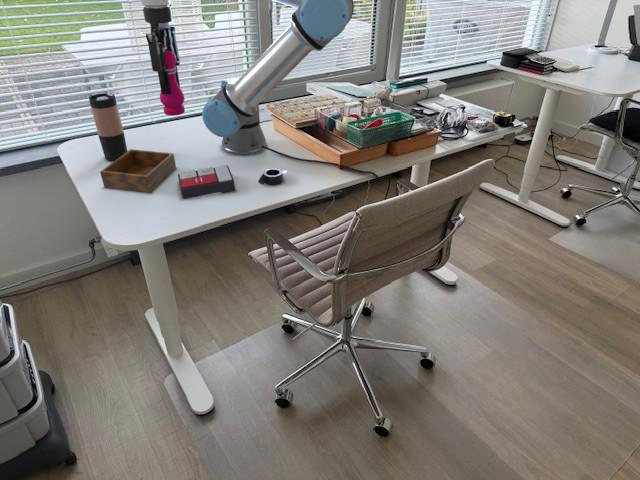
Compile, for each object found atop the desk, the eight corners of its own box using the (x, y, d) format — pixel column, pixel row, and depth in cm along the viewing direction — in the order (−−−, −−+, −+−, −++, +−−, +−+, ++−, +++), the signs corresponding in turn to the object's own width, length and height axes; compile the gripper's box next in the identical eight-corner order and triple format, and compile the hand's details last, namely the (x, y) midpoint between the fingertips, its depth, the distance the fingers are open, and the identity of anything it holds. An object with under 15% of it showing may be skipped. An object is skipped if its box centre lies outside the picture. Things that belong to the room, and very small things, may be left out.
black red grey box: (177, 171, 136) (227, 162, 140) (180, 184, 138) (229, 175, 142) (180, 187, 127) (233, 178, 131) (183, 201, 130) (235, 191, 134)
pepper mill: (189, 109, 147) (179, 42, 135) (182, 116, 141) (170, 47, 129) (167, 108, 147) (155, 41, 136) (159, 115, 141) (145, 46, 130)
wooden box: (176, 168, 146) (173, 153, 143) (150, 193, 132) (146, 176, 129) (134, 164, 148) (130, 149, 145) (104, 188, 134) (99, 171, 131)
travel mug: (106, 163, 148) (89, 102, 137) (103, 155, 153) (87, 95, 142) (131, 159, 151) (116, 98, 140) (127, 151, 156) (113, 92, 145)
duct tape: (292, 185, 138) (291, 176, 136) (259, 188, 136) (258, 179, 134) (286, 173, 144) (286, 165, 142) (254, 177, 142) (254, 168, 140)
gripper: (159, 1, 135) (172, 81, 148) (126, 10, 120) (144, 99, 133) (183, 2, 134) (194, 83, 147) (153, 11, 119) (169, 100, 132)
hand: (171, 90), depth 140 cm, fingers closed on pepper mill, 6 cm apart
